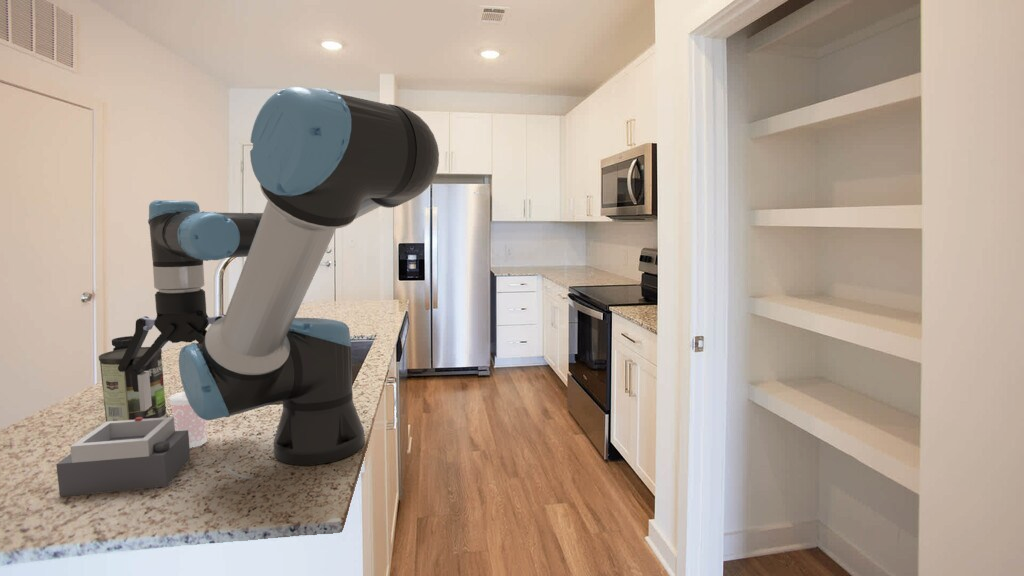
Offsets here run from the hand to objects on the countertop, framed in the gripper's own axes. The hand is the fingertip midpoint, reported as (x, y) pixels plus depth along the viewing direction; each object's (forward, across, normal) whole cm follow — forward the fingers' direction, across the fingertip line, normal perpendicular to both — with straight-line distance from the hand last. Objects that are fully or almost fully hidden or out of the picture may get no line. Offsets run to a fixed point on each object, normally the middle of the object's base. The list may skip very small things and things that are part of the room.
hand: (188, 406), depth 97 cm
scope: (+8, +22, -30) cm, 38 cm away
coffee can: (+7, +15, -15) cm, 22 cm away
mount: (+7, +5, +12) cm, 15 cm away
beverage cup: (+7, 0, 0) cm, 7 cm away
